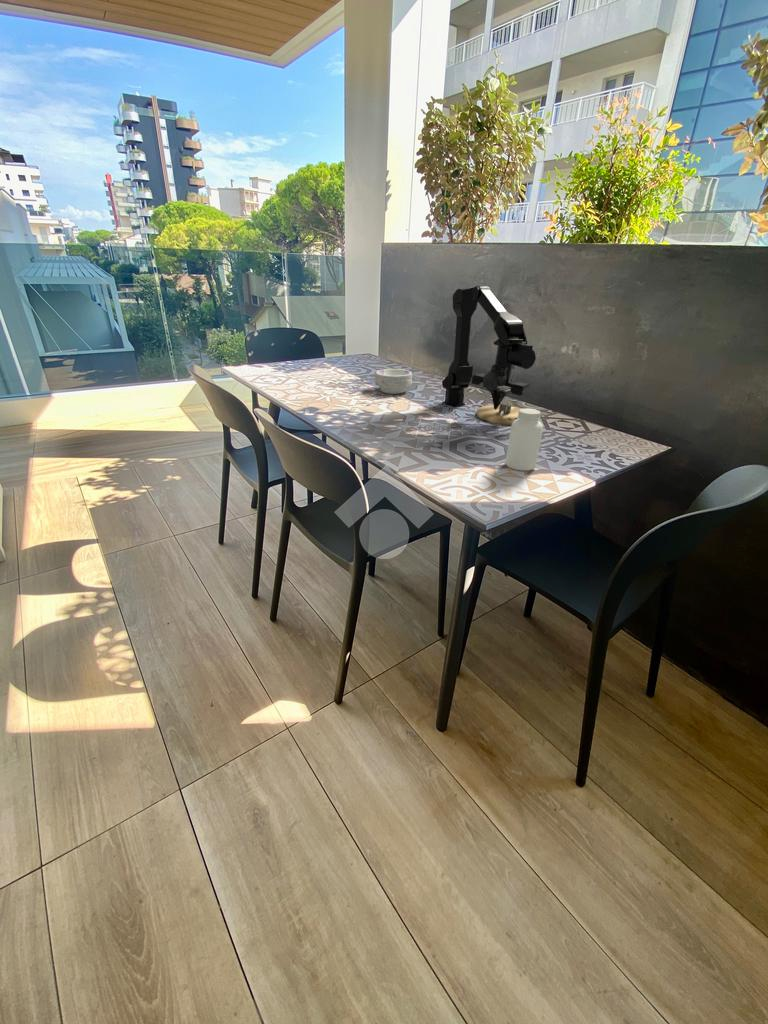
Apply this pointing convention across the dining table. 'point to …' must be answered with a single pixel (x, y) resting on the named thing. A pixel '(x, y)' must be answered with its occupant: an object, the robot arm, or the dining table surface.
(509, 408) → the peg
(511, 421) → the dial board
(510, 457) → the pill bottle
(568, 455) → the dining table surface
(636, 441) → the dining table surface
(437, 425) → the dining table surface
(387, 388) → the white stone bowl
